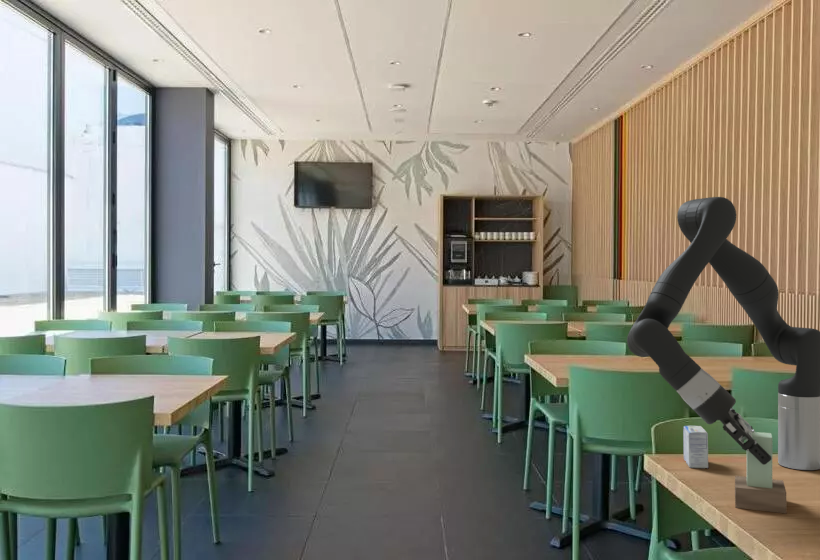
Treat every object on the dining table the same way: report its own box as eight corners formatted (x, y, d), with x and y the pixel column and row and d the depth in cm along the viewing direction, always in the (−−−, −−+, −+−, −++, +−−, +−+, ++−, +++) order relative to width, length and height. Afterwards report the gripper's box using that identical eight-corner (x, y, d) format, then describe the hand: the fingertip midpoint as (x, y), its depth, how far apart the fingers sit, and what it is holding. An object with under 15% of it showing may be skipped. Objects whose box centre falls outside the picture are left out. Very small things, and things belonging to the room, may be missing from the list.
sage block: (746, 479, 148) (746, 431, 148) (770, 482, 147) (771, 433, 147) (747, 485, 144) (747, 435, 144) (772, 488, 143) (772, 437, 142)
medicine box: (708, 469, 171) (708, 432, 171) (688, 468, 172) (688, 431, 172) (702, 460, 179) (702, 425, 179) (683, 459, 180) (683, 425, 180)
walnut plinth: (734, 494, 152) (734, 475, 152) (783, 499, 148) (783, 480, 148) (735, 507, 143) (735, 487, 143) (786, 513, 140) (786, 492, 140)
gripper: (719, 389, 142) (784, 452, 137) (719, 379, 155) (779, 437, 150) (690, 414, 144) (753, 477, 140) (693, 402, 157) (751, 459, 153)
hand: (767, 456), depth 145 cm, fingers open, 8 cm apart
